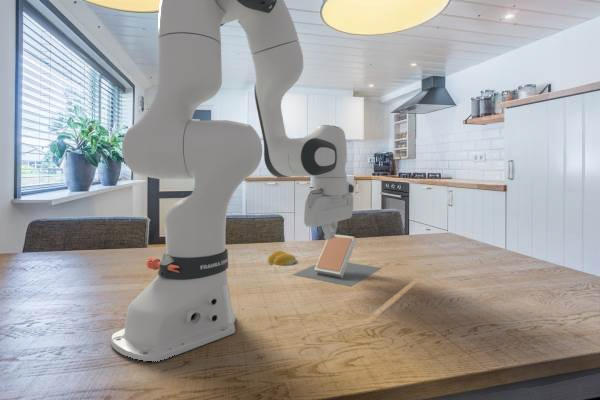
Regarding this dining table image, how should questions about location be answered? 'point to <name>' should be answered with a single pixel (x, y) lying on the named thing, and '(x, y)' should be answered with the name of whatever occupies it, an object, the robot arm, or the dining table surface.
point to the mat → (350, 276)
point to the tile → (335, 256)
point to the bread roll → (281, 258)
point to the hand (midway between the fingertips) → (329, 238)
